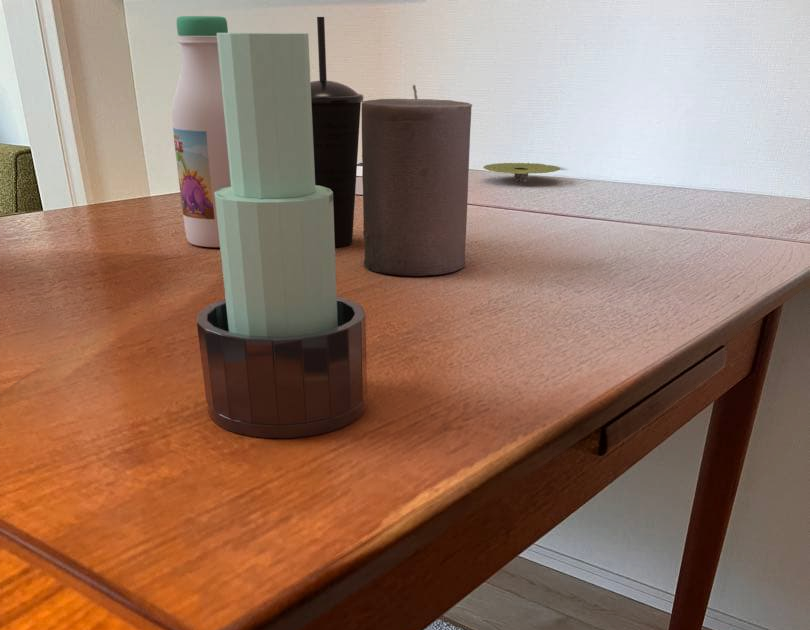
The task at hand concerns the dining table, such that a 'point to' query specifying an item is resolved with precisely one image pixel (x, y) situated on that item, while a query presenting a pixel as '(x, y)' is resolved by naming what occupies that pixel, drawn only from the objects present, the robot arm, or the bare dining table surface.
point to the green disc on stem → (521, 169)
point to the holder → (284, 375)
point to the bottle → (273, 192)
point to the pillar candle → (415, 185)
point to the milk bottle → (200, 128)
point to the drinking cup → (335, 142)
